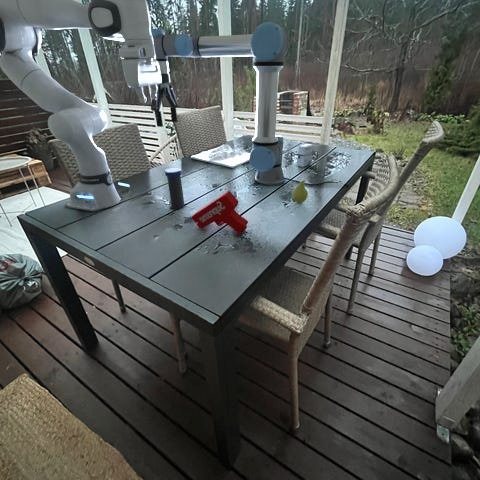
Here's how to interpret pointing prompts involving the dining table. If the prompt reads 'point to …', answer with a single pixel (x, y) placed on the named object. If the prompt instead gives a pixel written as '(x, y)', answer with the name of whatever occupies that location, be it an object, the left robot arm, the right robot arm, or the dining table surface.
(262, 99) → the right robot arm
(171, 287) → the dining table surface
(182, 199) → the jar
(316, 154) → the dining table surface
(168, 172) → the lid
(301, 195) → the fruit
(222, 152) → the relief map
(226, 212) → the toy gun
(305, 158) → the ink box
